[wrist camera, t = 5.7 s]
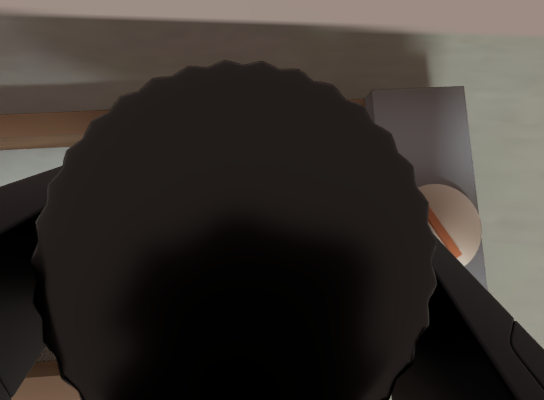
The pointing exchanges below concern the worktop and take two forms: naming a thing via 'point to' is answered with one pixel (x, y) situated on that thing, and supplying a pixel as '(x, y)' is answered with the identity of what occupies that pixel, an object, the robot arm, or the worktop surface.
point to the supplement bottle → (234, 245)
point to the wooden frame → (384, 112)
